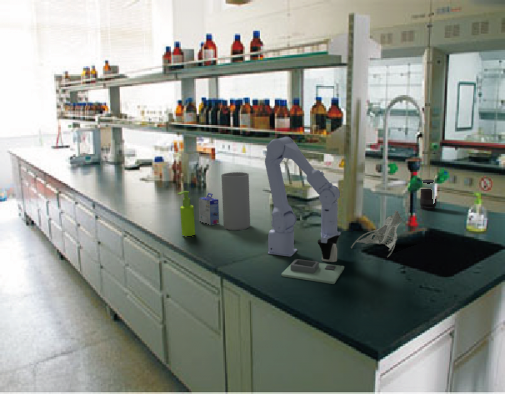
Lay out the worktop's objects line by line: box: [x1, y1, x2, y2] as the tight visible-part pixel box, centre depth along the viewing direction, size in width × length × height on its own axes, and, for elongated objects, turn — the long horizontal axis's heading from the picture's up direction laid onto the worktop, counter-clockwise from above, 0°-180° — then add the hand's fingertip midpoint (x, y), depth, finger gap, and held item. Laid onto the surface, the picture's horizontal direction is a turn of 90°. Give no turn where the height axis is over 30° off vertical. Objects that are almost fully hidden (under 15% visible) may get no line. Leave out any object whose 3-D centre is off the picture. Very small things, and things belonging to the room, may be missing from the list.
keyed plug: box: [321, 244, 338, 263], centre depth 157 cm, size 5×3×6 cm, turn 65°
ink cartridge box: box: [198, 192, 220, 226], centre depth 210 cm, size 10×6×14 cm, turn 41°
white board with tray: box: [280, 258, 345, 285], centre depth 147 cm, size 18×14×3 cm
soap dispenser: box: [177, 190, 196, 237], centre depth 190 cm, size 6×7×20 cm
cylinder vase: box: [220, 171, 251, 231], centre depth 200 cm, size 12×12×25 cm
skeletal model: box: [350, 210, 403, 258], centre depth 172 cm, size 16×9×25 cm
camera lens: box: [419, 179, 437, 211], centre depth 224 cm, size 8×8×15 cm
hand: (328, 255), depth 158 cm, fingers open, 6 cm apart
